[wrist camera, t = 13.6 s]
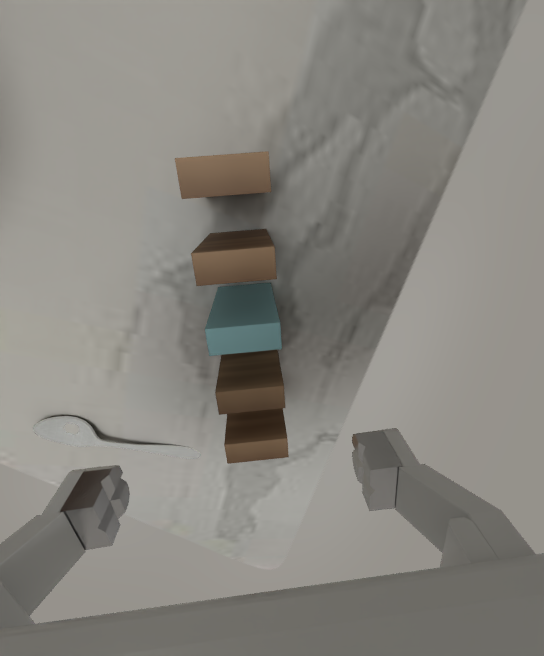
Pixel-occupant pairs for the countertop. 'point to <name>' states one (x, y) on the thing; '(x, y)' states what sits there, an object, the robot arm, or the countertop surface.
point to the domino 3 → (243, 320)
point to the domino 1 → (223, 175)
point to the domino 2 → (234, 258)
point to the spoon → (87, 437)
